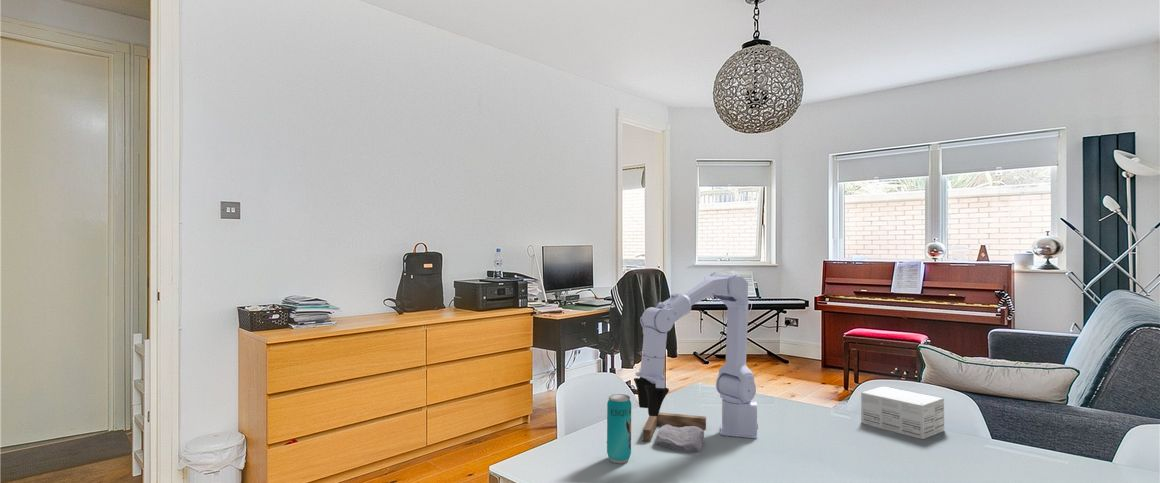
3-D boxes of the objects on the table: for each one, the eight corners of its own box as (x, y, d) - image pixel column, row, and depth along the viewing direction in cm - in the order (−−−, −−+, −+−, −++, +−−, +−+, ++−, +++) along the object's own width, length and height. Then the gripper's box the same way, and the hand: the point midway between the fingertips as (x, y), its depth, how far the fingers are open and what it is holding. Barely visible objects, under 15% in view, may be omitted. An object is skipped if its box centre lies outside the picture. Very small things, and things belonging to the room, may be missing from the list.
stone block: (701, 461, 133) (705, 440, 143) (700, 443, 133) (704, 423, 142) (653, 456, 137) (660, 436, 147) (652, 439, 137) (659, 419, 146)
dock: (706, 427, 153) (706, 416, 153) (703, 447, 138) (703, 435, 138) (651, 422, 157) (651, 411, 157) (642, 440, 142) (642, 429, 142)
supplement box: (945, 431, 151) (945, 397, 152) (923, 440, 144) (923, 405, 144) (883, 415, 165) (883, 385, 166) (860, 423, 158) (860, 391, 158)
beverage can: (629, 465, 126) (630, 400, 126) (605, 463, 127) (605, 399, 127) (632, 456, 131) (632, 394, 132) (608, 454, 133) (609, 392, 133)
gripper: (629, 350, 141) (624, 403, 140) (646, 359, 126) (641, 418, 126) (655, 352, 142) (650, 404, 141) (675, 362, 128) (670, 420, 127)
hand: (648, 411), depth 133 cm, fingers open, 7 cm apart
